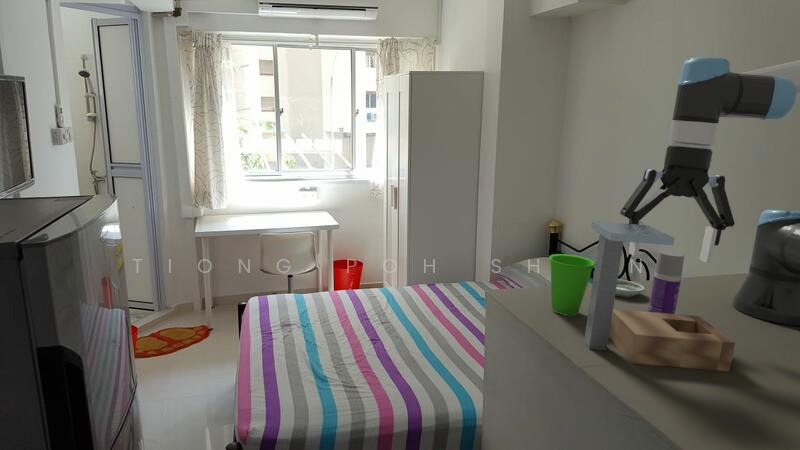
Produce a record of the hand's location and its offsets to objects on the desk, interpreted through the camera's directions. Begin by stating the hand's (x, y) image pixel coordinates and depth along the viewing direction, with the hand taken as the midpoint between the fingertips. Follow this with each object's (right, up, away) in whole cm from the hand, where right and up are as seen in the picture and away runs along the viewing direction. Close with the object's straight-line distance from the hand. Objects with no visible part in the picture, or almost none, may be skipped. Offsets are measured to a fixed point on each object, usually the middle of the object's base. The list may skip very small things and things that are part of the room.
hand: (668, 258), depth 105 cm
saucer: (0, -10, +23) cm, 25 cm away
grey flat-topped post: (-14, -15, -9) cm, 22 cm away
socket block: (-5, -16, -9) cm, 19 cm away
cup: (-17, -12, +8) cm, 22 cm away
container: (-1, -14, +3) cm, 14 cm away
